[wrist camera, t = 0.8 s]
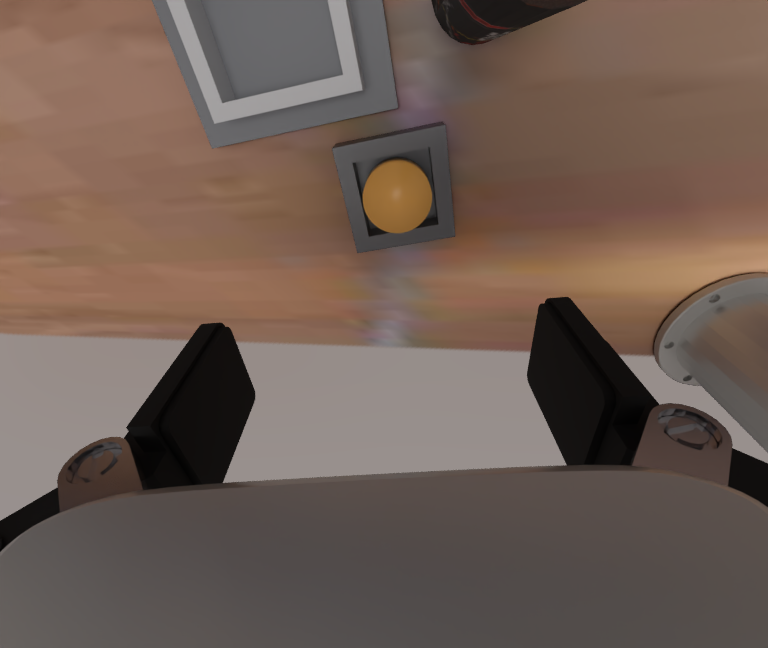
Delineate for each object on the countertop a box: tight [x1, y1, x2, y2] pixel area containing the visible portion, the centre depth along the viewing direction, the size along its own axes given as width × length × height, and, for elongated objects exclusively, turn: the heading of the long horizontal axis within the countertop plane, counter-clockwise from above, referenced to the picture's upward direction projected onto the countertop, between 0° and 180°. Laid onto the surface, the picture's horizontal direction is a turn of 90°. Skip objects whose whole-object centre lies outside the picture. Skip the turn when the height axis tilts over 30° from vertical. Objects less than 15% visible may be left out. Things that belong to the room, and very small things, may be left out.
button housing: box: [332, 122, 455, 253], centre depth 29 cm, size 8×8×2 cm
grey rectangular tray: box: [152, 0, 398, 148], centre depth 22 cm, size 14×13×4 cm
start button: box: [363, 157, 432, 233], centre depth 28 cm, size 5×5×2 cm
